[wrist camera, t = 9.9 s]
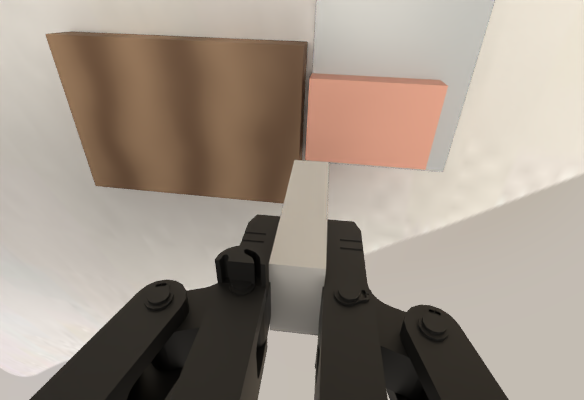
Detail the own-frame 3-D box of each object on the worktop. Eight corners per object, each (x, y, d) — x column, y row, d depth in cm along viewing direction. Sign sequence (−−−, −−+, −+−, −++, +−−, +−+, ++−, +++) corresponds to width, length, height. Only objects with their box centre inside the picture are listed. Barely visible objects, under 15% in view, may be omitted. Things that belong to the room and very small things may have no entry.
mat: (307, 159, 27) (307, 161, 27) (317, -9, 21) (317, -9, 21) (442, 170, 26) (443, 172, 26) (494, -5, 20) (496, -5, 20)
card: (307, 150, 26) (305, 160, 25) (311, 73, 23) (309, 78, 22) (419, 158, 26) (425, 169, 24) (440, 79, 22) (448, 86, 21)
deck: (112, 173, 31) (95, 185, 28) (71, 31, 24) (45, 34, 22) (300, 190, 29) (297, 204, 27) (307, 41, 23) (303, 45, 20)
